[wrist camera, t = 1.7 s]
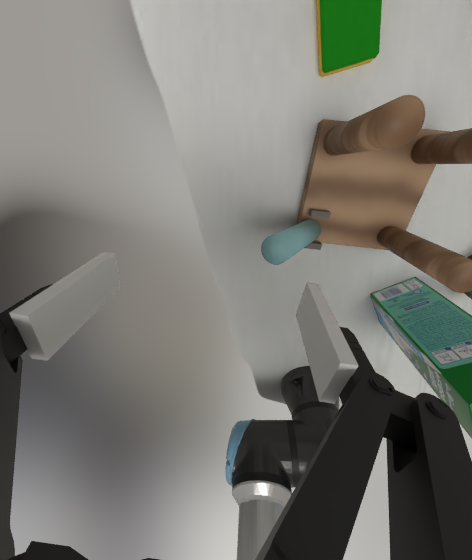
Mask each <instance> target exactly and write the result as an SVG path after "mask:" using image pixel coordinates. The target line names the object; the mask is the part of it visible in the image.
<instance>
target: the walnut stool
mask: <svg viewBox="0 0 472 560" xmlns="http://www.w3.org/2000/svg"><path fill="white" fill-rule="evenodd" d="M424 118H425V108H424V104H423V102H422V101H421V100H420V99H419V98H418V97H416V96H413V95H404V96H401V97H399V98H397V99H394V100H392V101H390V102H388V103H386V104H384V105H382V106H380V107H377V108H375V109H373V110H371V111H369V112H367V113H365V114H363V115H361V116H358V117H356V118H354V119H352V120H350V121H348V122H344V121H334V120H322V121H321V122H319V123H318V128H317V132H316V137H315V142H314V146H313V151H312V155H311V160H310V164H309V169H308V173H307V178H306V183H305V187H304V192H303V196H302V201H301V205H300V210H299V215H298V219H297V224H299V223H301V222H303V221H306V220H309V219H313V220H316V221H317V222H318V223H319V224H320V226H321V234H320V236H319V237H318V238H317V239H316V240H314V241H313V242H311V243H310V244H309V245H307V246H306V247H304V248H310V249H319V250H320V249H321V246H322V244H321V243H329V244H338V245H347V246H356V247H365V248H374V249H384V250H390V251H391V252H393V253H394V254H396V255H398V256H399V257H401V258H402V259H404V260H406V261H407V262H409V263H410V264H412V265H413V266H415V267H417V268H418V269H420V270H421V271H423V272H425V273H426V274H428V275H429V276H431V277H432V278H434V279H436V280H437V281H439V282H440V283H442V284H444V285H445V286H447V287H448V288H450V289H451V290H453V291H455V292H459V293H464V292H469V291H472V260H471V259H469V258H466V257H464V256H462V255H460V254H457V253H455V252H453V251H450V250H448V249H446V248H443V247H441V246H439V245H437V244H434V243H432V242H430V241H427V240H425V239H423V238H420V237H418V236H416V235H414V234H411V233H409V232H407V231H406V228H407V226H408V224H409V222H410V220H411V218H412V215H413V213H414V211H415V209H416V207H417V204H418V202H419V200H420V198H421V196H422V194H423V191H424V189H425V187H426V185H427V183H428V181H429V178H430V176H431V174H432V172H433V170H434V167H435V165H436V164H472V128H471V129H465V130H459V131H453V132H449V131H438V130H428V129H421V127H422V125H423V122H424ZM297 224H296V225H297Z"/></svg>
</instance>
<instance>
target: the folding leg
mask: <svg viewBox="0 0 472 560" xmlns="http://www.w3.org/2000/svg"><path fill="white" fill-rule="evenodd" d="M320 234H321V226H320V224H319V223H318V222H317V221H316V220H313V219H309V220H306V221H303V222H301V223H299V224H297V225H294V226H292V227H290V228H287V229H285V230H283V231H280V232H278V233H276V234H273V235H271V236H269V237H267V238H266V239H265V240H264V241H263V243H262V246H261V251H262V255H263V257H264V258H265V260H266V261H268V262H269V263H271V264H275V265H278V264H281V263H283V262H285V261H286V260H287V259H289V258H290V257H292V256H293V255H294V254H296V253H297V252H299V251H300V250H302V249H303V248H304V247H306V246H307V245H309V244H310V243H311V242H313V241H314V240H316V239H317V238H318V237H319V236H320Z"/></svg>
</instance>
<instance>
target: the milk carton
mask: <svg viewBox="0 0 472 560" xmlns="http://www.w3.org/2000/svg"><path fill="white" fill-rule="evenodd" d="M370 295H371V298H372V301H373V304H374V306H375V309H376V312H377V315H378V318H379V321H380V323H381V325H382V326H383V327H384V329H385V330H386V331H387V332H388V334H389V335H390V336H391V337H392V339H393V340H394V341H395V342H396V344H397V345H398V346H399V347H400V349H401V350H402V351H403V352H404V354H405V355H406V356H407V358H408V359H409V360H410V361H411V363H412V364H413V365H414V366H415V368H416V369H417V370H418V371H419V373H420V374H421V375H422V376H423V378H424V379H425V380H426V381H427V383H428V384H429V385H430V386H431V388H432V389H433V390H434V392H435V393H436V394H437V395H438V397H439V398H440V399H441V400H442V401H443V402H444V403H446V404H447V405H448V406H449V407H450V408H451V409H452V410H453V411H454V413H455V415H456V417H457V418H458V421H459V423H460V424H461V425H462V427H463V428H464V429H465V430H466V432H467V433H468V434H469V436H470V437H471V438H472V316H471V315H470V314H468V313H467V312H465V311H464V310H463V309H461V308H460V307H458V306H457V305H455V304H454V303H453V302H451V301H450V300H448V299H447V298H445V297H444V296H442V295H441V294H440V293H438V292H437V291H435V290H434V289H432V288H431V287H429V286H428V285H427V284H425V283H424V282H422V281H421V280H419V279H418V278H416V277H415V278H412V279H409V280H407V281H404V282H401V283H399V284H396V285H393V286H391V287H388V288H385V289H383V290H380V291H377V292H375V293H372V294H370Z"/></svg>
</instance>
